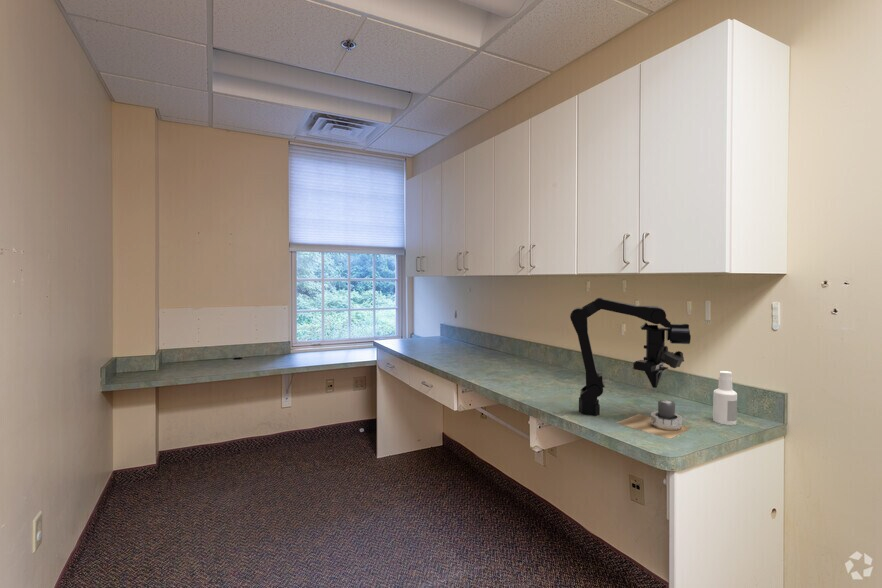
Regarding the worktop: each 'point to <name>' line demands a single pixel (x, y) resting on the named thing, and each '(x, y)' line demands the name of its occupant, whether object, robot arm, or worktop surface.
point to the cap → (666, 409)
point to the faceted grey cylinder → (666, 422)
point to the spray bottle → (725, 400)
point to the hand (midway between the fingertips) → (654, 387)
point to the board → (649, 426)
